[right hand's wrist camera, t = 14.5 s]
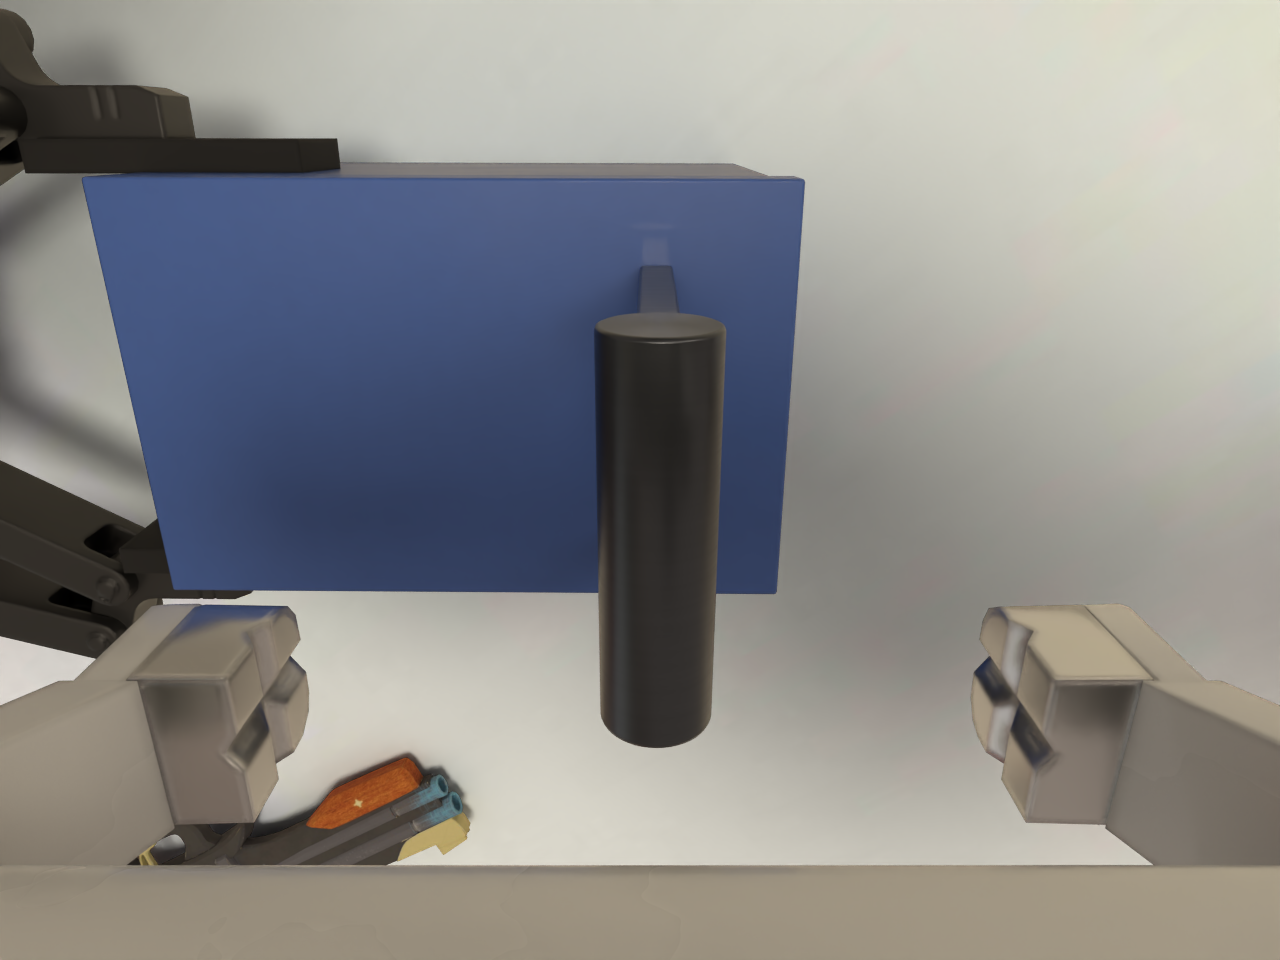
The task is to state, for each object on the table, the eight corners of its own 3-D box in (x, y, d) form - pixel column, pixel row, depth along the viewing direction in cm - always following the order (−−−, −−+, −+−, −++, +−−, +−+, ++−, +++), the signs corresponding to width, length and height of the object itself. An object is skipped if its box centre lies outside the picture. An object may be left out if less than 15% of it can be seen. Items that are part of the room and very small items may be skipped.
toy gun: (-59, 854, 35) (89, 1032, 37) (337, 652, 33) (471, 855, 35) (-10, 813, 38) (126, 982, 40) (360, 624, 35) (483, 814, 38)
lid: (796, 176, 19) (913, 209, 11) (770, 570, 23) (842, 830, 14) (114, 174, 19) (-308, 205, 11) (197, 567, 23) (-70, 822, 14)
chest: (735, 163, 27) (771, 175, 19) (723, 456, 31) (750, 570, 23) (273, 162, 27) (115, 174, 19) (316, 453, 31) (197, 566, 23)
